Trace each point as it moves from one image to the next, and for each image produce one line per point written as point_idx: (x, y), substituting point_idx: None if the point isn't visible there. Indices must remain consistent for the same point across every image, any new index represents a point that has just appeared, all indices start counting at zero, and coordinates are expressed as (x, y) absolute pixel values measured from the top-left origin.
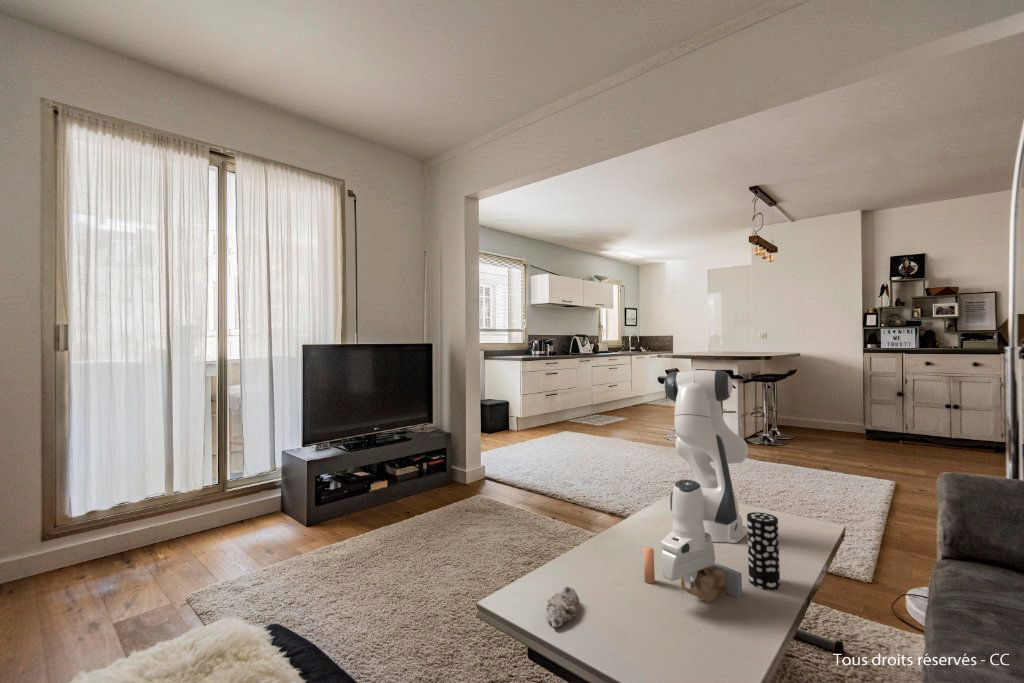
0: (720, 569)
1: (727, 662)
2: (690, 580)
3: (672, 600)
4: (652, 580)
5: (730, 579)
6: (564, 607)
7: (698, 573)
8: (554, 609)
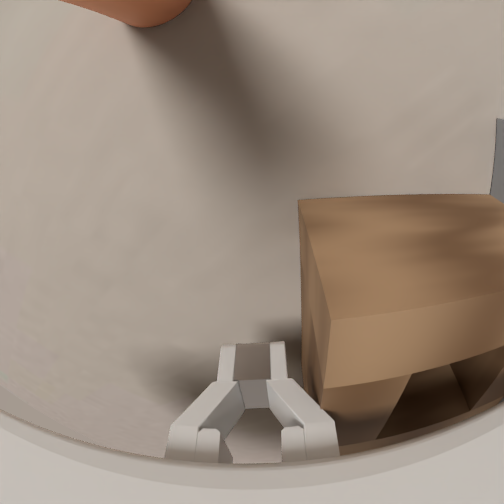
0: (500, 402)
1: (128, 447)
2: (228, 428)
3: (131, 268)
4: (134, 22)
5: None
6: None
7: (373, 421)
8: None
